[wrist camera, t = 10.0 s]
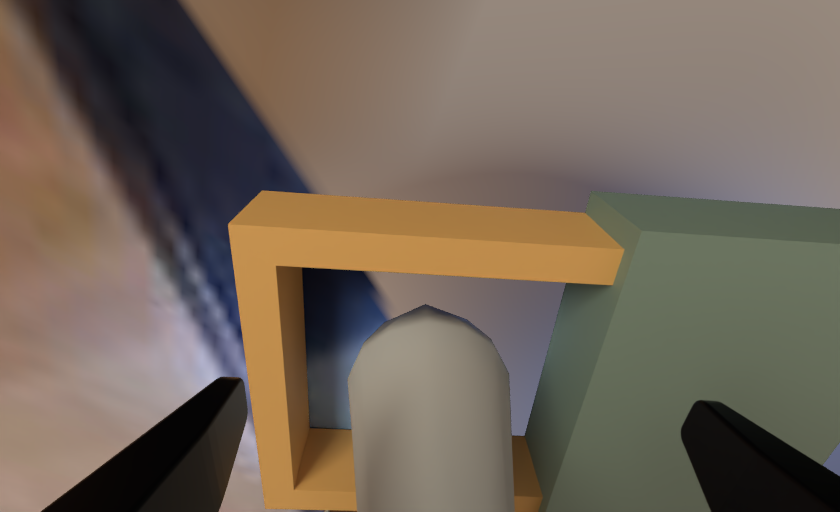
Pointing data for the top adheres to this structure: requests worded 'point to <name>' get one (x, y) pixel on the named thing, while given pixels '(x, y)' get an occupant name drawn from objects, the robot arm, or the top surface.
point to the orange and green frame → (568, 332)
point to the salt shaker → (431, 418)
